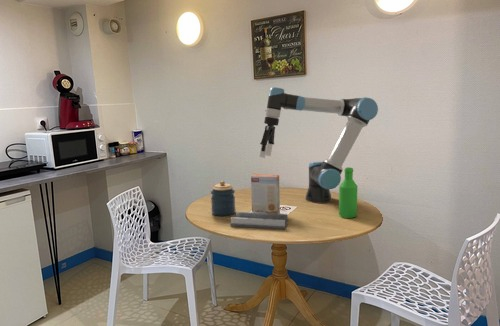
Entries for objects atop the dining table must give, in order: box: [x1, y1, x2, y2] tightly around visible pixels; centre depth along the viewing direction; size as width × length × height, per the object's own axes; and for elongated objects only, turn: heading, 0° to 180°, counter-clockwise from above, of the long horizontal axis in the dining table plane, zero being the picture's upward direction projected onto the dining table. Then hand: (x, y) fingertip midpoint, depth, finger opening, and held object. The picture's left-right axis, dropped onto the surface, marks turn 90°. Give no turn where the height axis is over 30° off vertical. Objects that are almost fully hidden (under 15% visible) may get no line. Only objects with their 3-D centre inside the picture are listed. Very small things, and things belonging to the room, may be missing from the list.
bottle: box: [338, 167, 358, 219], centre depth 174 cm, size 9×9×25 cm
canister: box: [210, 180, 236, 217], centre depth 185 cm, size 13×13×18 cm
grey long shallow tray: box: [230, 211, 289, 231], centre depth 167 cm, size 26×12×4 cm, turn 76°
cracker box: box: [250, 173, 281, 214], centre depth 181 cm, size 14×6×21 cm, turn 71°
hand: (265, 156), depth 185 cm, fingers open, 13 cm apart
